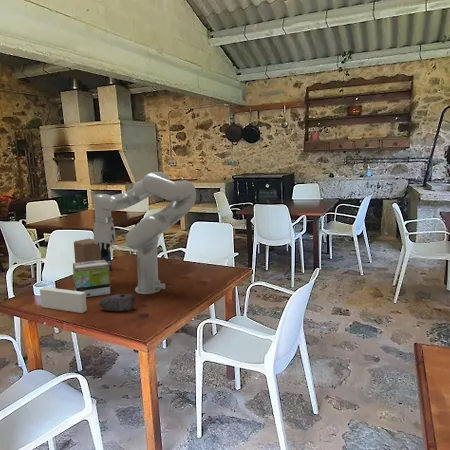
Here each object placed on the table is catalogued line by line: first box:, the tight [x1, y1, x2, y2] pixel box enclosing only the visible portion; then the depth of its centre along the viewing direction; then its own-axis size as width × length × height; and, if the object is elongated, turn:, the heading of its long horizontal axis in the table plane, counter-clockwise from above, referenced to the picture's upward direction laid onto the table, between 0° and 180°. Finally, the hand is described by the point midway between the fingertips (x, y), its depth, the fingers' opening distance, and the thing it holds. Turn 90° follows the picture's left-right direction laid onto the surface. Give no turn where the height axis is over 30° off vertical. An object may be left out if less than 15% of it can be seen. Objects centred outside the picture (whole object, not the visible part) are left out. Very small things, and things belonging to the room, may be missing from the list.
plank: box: [39, 286, 88, 314], centre depth 168 cm, size 21×3×8 cm, turn 71°
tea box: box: [72, 260, 111, 298], centre depth 186 cm, size 15×10×15 cm
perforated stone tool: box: [99, 293, 137, 312], centre depth 166 cm, size 15×5×7 cm, turn 88°
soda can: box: [101, 248, 112, 271], centre depth 223 cm, size 7×7×12 cm
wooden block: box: [73, 238, 101, 263], centre depth 210 cm, size 10×10×20 cm
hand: (104, 256), depth 196 cm, fingers closed
